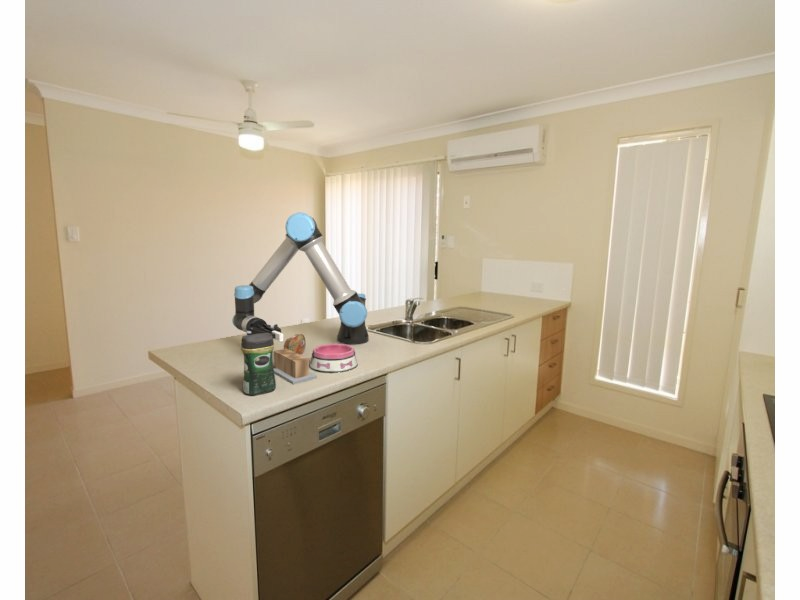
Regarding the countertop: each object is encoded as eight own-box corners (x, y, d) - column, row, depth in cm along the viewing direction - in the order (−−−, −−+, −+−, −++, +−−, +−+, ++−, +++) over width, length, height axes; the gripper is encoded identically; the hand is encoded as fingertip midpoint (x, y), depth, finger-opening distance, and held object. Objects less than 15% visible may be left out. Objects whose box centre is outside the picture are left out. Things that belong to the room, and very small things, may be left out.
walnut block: (286, 348, 144) (308, 358, 132) (286, 363, 145) (308, 375, 133) (273, 351, 140) (295, 361, 129) (274, 366, 141) (295, 378, 130)
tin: (289, 361, 151) (289, 340, 149) (282, 360, 151) (281, 340, 150) (306, 351, 165) (306, 332, 164) (299, 350, 166) (299, 331, 165)
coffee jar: (269, 383, 128) (268, 329, 125) (278, 391, 122) (277, 334, 119) (239, 389, 122) (237, 333, 119) (247, 398, 116) (245, 338, 113)
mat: (294, 366, 145) (294, 364, 145) (316, 378, 133) (316, 375, 133) (271, 371, 139) (271, 369, 138) (293, 384, 127) (293, 381, 127)
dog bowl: (308, 359, 155) (308, 343, 154) (354, 357, 159) (354, 341, 158) (309, 375, 137) (309, 356, 136) (360, 372, 142) (361, 354, 141)
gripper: (270, 332, 162) (297, 344, 145) (239, 337, 153) (264, 350, 136) (269, 315, 161) (297, 325, 144) (238, 319, 152) (264, 330, 135)
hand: (281, 337), depth 140 cm, fingers closed
